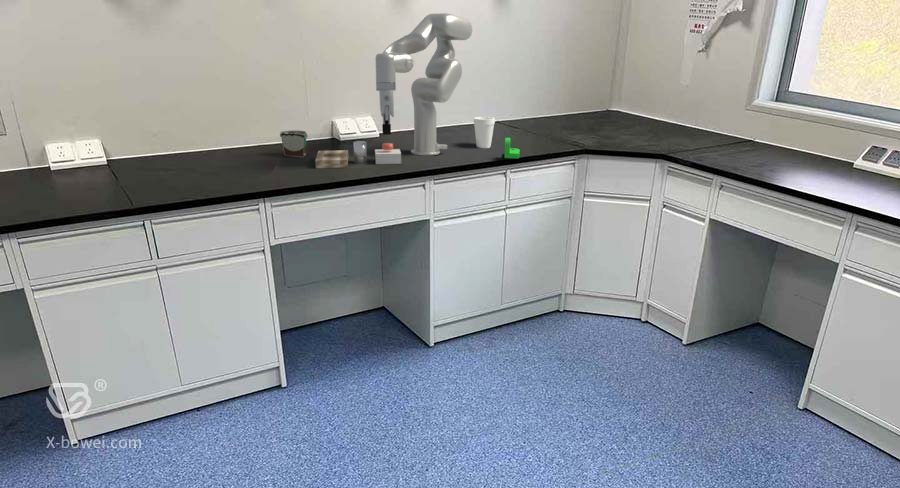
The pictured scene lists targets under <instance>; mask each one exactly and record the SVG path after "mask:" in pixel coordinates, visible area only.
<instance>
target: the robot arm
mask: <svg viewBox="0 0 900 488" xmlns="http://www.w3.org/2000/svg"><path fill="white" fill-rule="evenodd" d="M472 34H473V25H472V23H471V22H470V21H469V19H468V18H464V17H461V16H458V15H454V14H451V13H447V12H446V13H429V14H427V15H426V16H425V17H423V19H421V21H420V22H419V23H418V24H417V25H416V26H415V27H414V29H413V30H412V31H411V32H410V33H407V35H404V36H402V37H400V38H399V39H397V40H394V41H393V42H392V43H390V44H389V45H388V46H387V47H386V48H385V49H384V51H382V53H378V54H376V55H375V87H376V88H375V91H376V92H377V91H378V92H379V108H380V109H379V110H380V115H381V117H382V135H386V136H387V135H392V133H391V132H392V127H391V126H392V124H391V117H392V118H394V116H395V109H394V106H395V105H394V104H395V103H394V99H395V98H394V92H396V89H397V86H396V85H397V84H396V73H397V74H399V73H400V74H406V73H409V72H410V71H412V70H413V68H414V64H415V63H414V62H415V61H414V58H413V57H412V56H411V55H412V54H417V53H419V52H422V51H424V50H426V49H427V48H428V47H429V46H430V45H431V44H432V42H433V41H434V40H435V38H436V48H435V52H434V53H433V55H432V56H431V58H430V60H429V62H428V64H427V66H426V68H425V71H424V73H425V76H426V77H418V78H416V79H414V81H413V82H412V84H411V88H410V92H411V97H412V103H413V119H414V120H413V124H414V125H413V127H414V128H413V129H414V130H413V132H414V134H413V139H414V141H413V142H414V144H413V145H414V149H410V154H412V155H415V156H424V157H425V156H436V155H439V154H440V153H441V150H447V149H448V144H444V143H442V144H441V143H438V142H437V108H436V105H435V104H434V103H440V104H441V103H445V102H447V101H448V100H449V99H450V98H451V96H452V95H453V93H454V92H455V90H456V87H457V86H458V85H459V82H460V80H461V79H462V78H461V77H462V73H463V66H462V64H461V62H460V61H459V60H457V59H455V57H456V51H455V50H456V49H455V47H454V44H453V41H467V40H468V39H470V38H471V36H472Z"/></svg>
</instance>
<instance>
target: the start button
mask: <svg viewBox="0 0 900 488" xmlns="http://www.w3.org/2000/svg"><path fill="white" fill-rule="evenodd" d="M381 147H382V148H381V149H383V150H393V149H394V143H391V142H384V143H382V144H381Z"/></svg>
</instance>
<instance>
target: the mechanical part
mask: <svg viewBox="0 0 900 488" xmlns="http://www.w3.org/2000/svg"><path fill="white" fill-rule="evenodd" d="M504 141H505V142H504V159H520V149H519V148H516V147H515V148H512V147H511V137H505V139H504Z"/></svg>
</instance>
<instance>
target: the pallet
mask: <svg viewBox="0 0 900 488" xmlns="http://www.w3.org/2000/svg"><path fill="white" fill-rule="evenodd" d="M314 163H315V168H316V169H336V168H337V169H338V168H339V169H340V168H343V169H344V168H348V165H349V150H348V149H347V150H346V149H343V150H338V149H337V150H318V152H317V154H316V157H315V161H314Z"/></svg>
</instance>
